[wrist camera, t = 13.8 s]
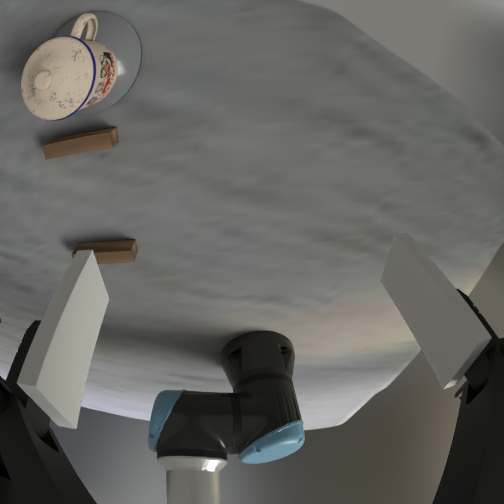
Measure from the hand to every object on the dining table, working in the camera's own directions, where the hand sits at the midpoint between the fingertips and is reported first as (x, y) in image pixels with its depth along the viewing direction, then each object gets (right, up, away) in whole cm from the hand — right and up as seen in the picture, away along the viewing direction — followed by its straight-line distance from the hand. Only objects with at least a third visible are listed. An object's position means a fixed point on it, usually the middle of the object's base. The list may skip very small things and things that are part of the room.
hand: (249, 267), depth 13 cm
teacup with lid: (-20, +24, +15) cm, 34 cm away
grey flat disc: (-20, +24, +16) cm, 35 cm away
